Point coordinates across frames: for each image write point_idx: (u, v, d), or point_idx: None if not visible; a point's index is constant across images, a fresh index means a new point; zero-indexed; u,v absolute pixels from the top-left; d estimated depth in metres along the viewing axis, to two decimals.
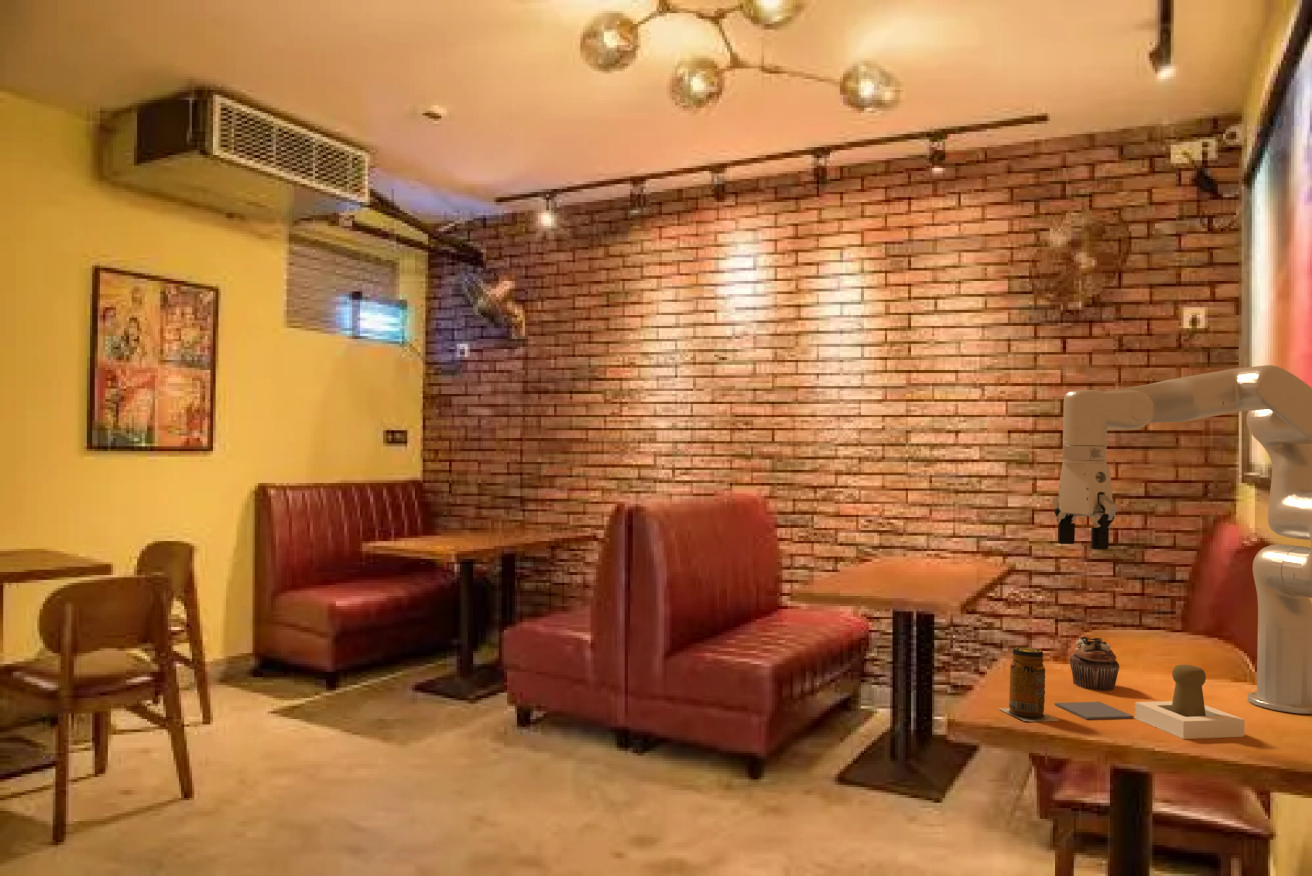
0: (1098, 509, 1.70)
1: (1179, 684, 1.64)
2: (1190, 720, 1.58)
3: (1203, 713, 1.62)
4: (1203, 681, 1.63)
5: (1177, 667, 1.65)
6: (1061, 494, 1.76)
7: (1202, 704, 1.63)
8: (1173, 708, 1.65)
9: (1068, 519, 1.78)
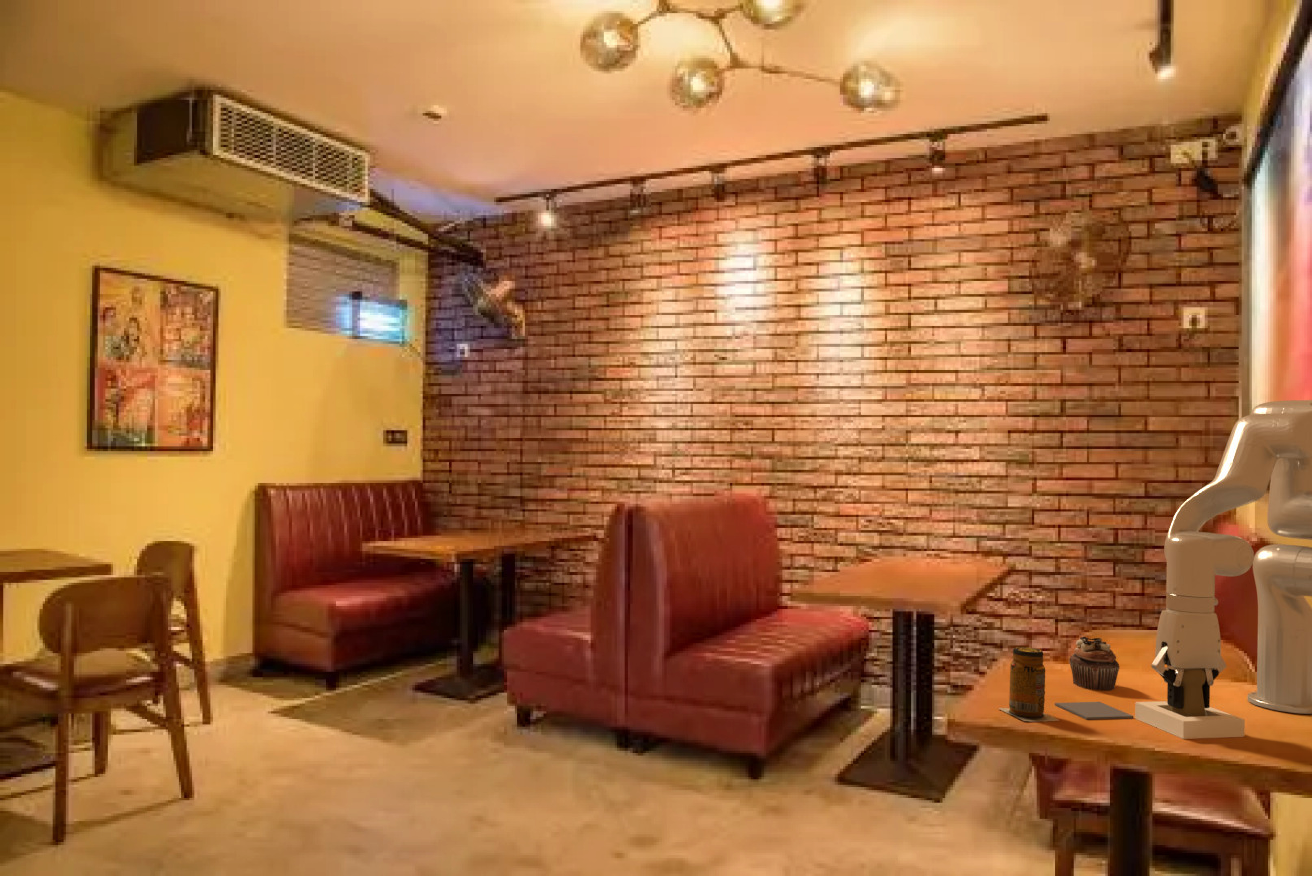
0: None
1: None
2: (1190, 720, 1.58)
3: (1203, 713, 1.63)
4: (1203, 681, 1.63)
5: None
6: (1181, 649, 1.62)
7: (1202, 704, 1.63)
8: (1173, 708, 1.65)
9: None
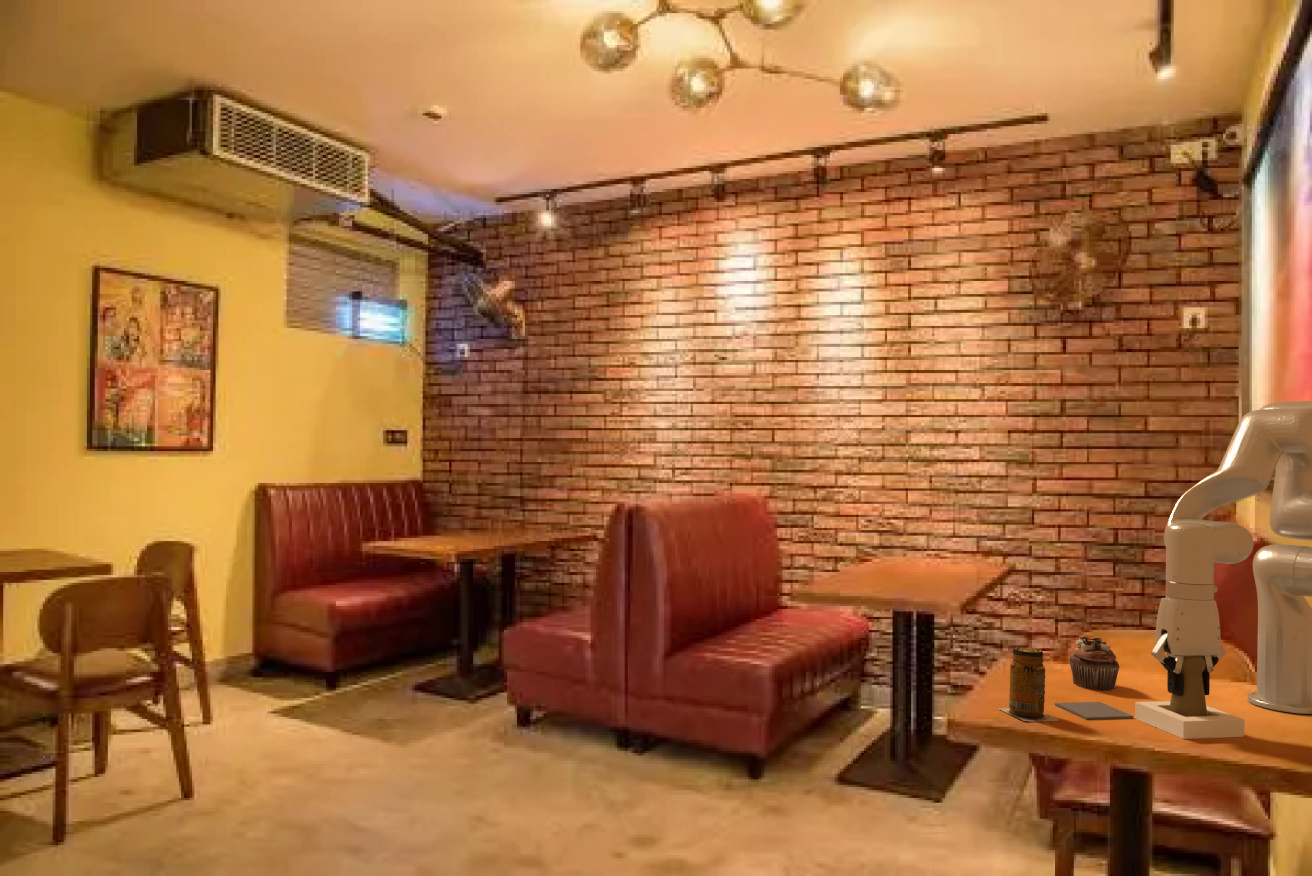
0: None
1: None
2: (1190, 720, 1.58)
3: (1203, 700, 1.63)
4: (1203, 668, 1.63)
5: None
6: (1181, 636, 1.62)
7: (1202, 691, 1.63)
8: (1173, 695, 1.65)
9: None
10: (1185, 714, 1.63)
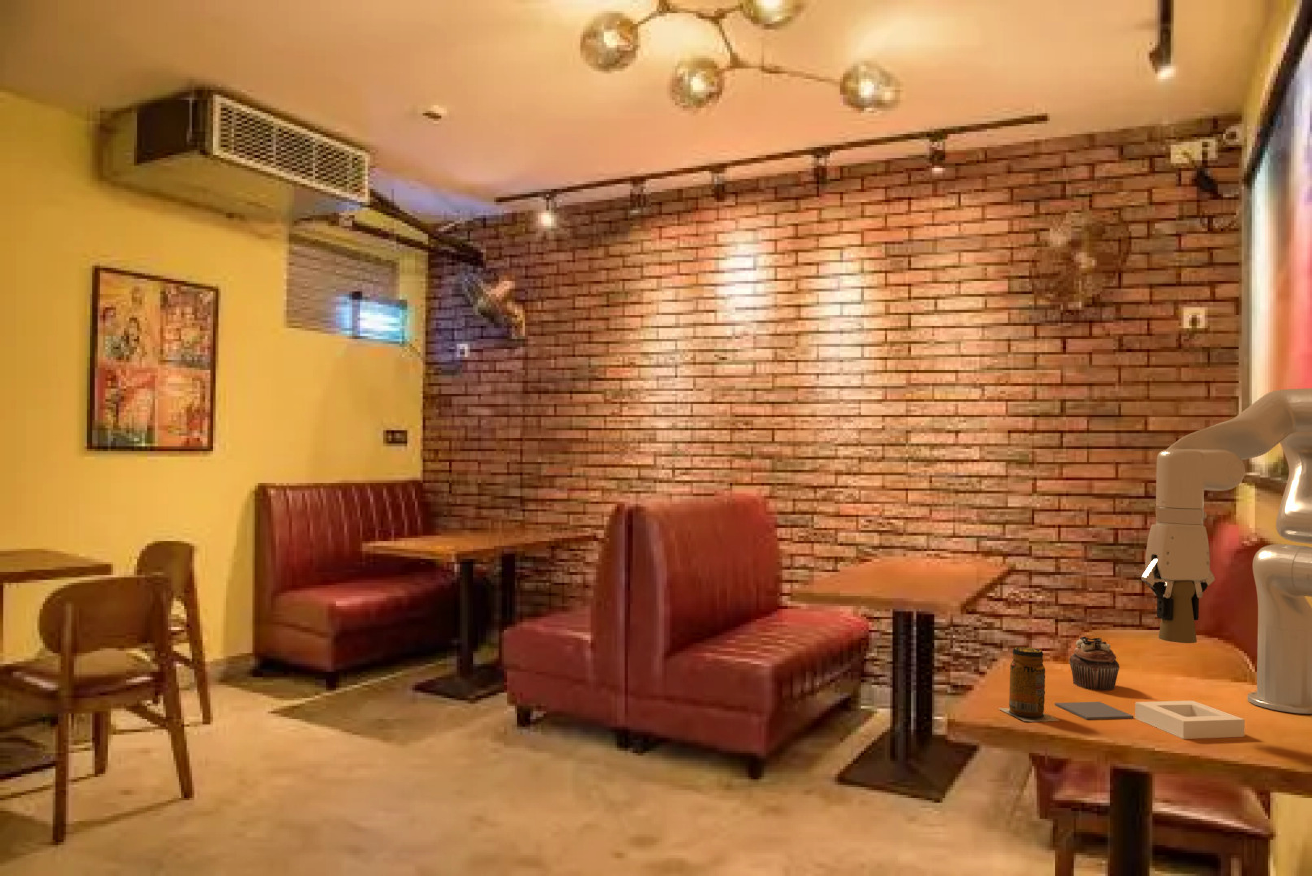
0: None
1: None
2: (1190, 720, 1.58)
3: (1192, 624, 1.64)
4: (1192, 593, 1.64)
5: None
6: (1171, 561, 1.63)
7: (1191, 615, 1.64)
8: (1163, 621, 1.66)
9: None
10: (1175, 638, 1.64)
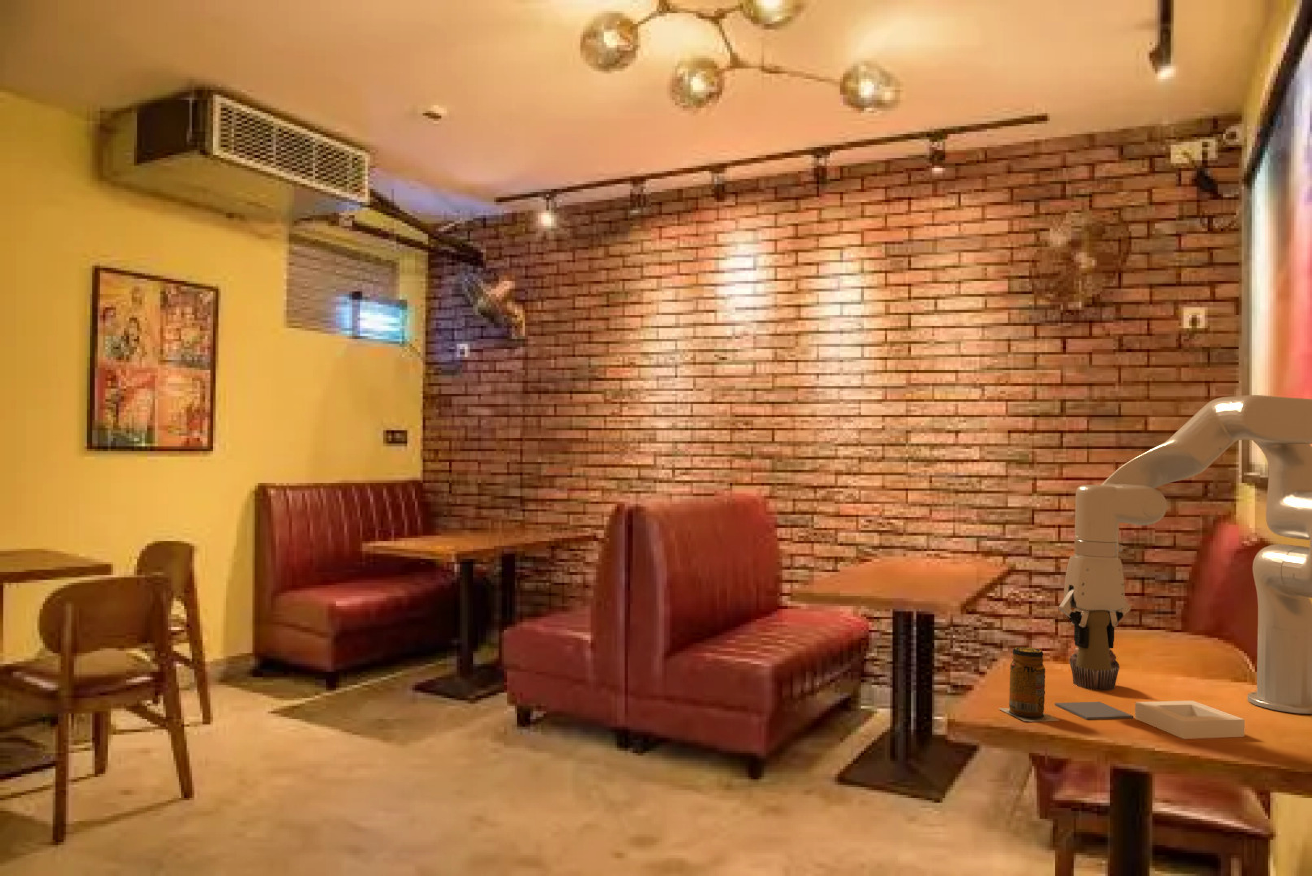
0: None
1: None
2: (1190, 720, 1.58)
3: (1107, 652, 1.71)
4: (1107, 622, 1.72)
5: None
6: (1086, 591, 1.71)
7: (1106, 644, 1.72)
8: (1079, 648, 1.74)
9: None
10: (1089, 665, 1.71)
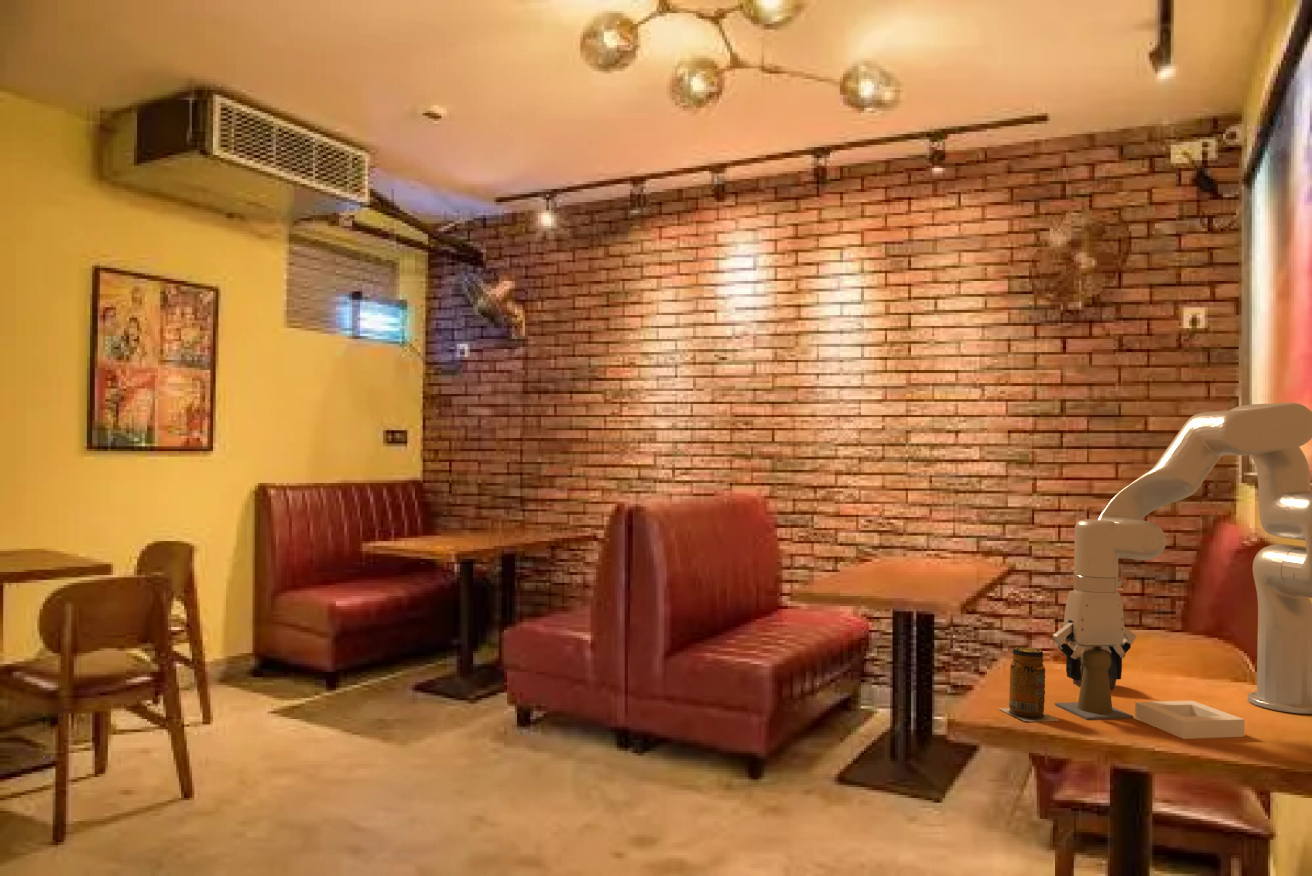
0: None
1: (1086, 668, 1.73)
2: (1190, 720, 1.58)
3: (1108, 695, 1.71)
4: (1108, 665, 1.72)
5: (1085, 652, 1.74)
6: (1085, 627, 1.71)
7: (1107, 687, 1.72)
8: (1081, 691, 1.74)
9: None
10: (1090, 709, 1.71)
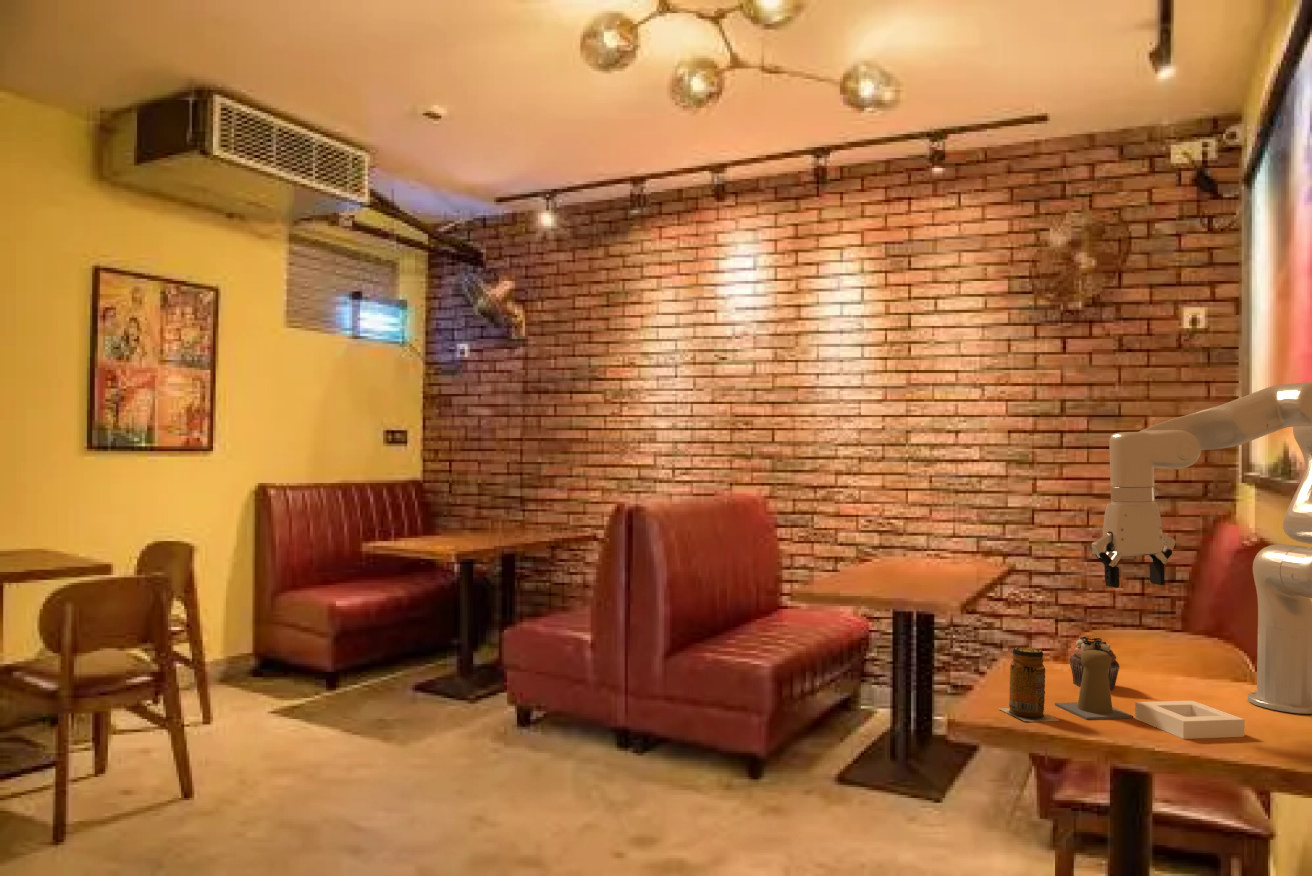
0: None
1: (1086, 668, 1.73)
2: (1190, 720, 1.58)
3: (1108, 695, 1.71)
4: (1108, 665, 1.72)
5: (1084, 652, 1.74)
6: (1125, 537, 1.74)
7: (1107, 687, 1.72)
8: (1081, 691, 1.74)
9: None
10: (1090, 709, 1.71)
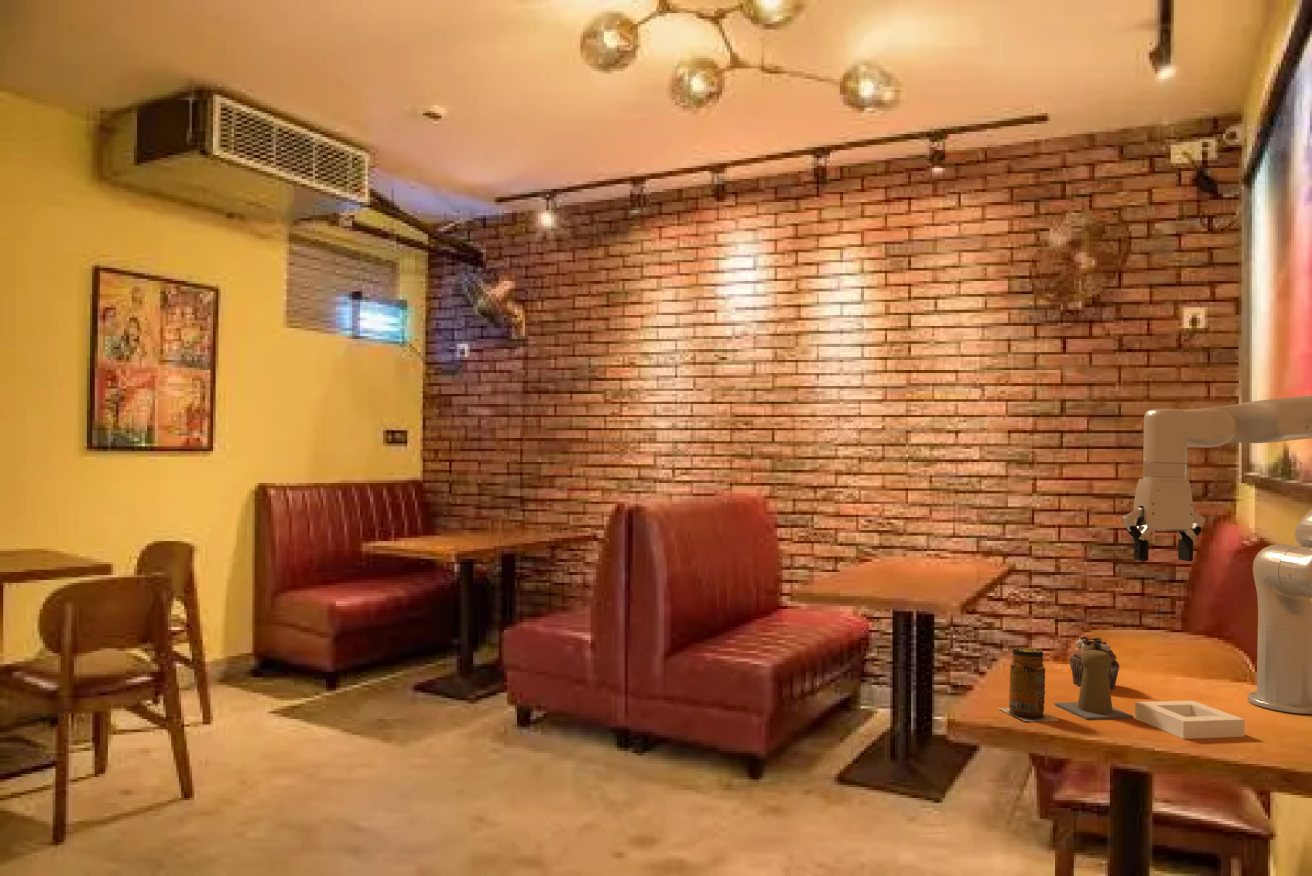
0: None
1: (1086, 668, 1.73)
2: (1190, 720, 1.58)
3: (1108, 695, 1.71)
4: (1108, 665, 1.72)
5: (1085, 652, 1.74)
6: (1156, 511, 1.76)
7: (1107, 687, 1.72)
8: (1081, 691, 1.74)
9: None
10: (1090, 709, 1.71)
